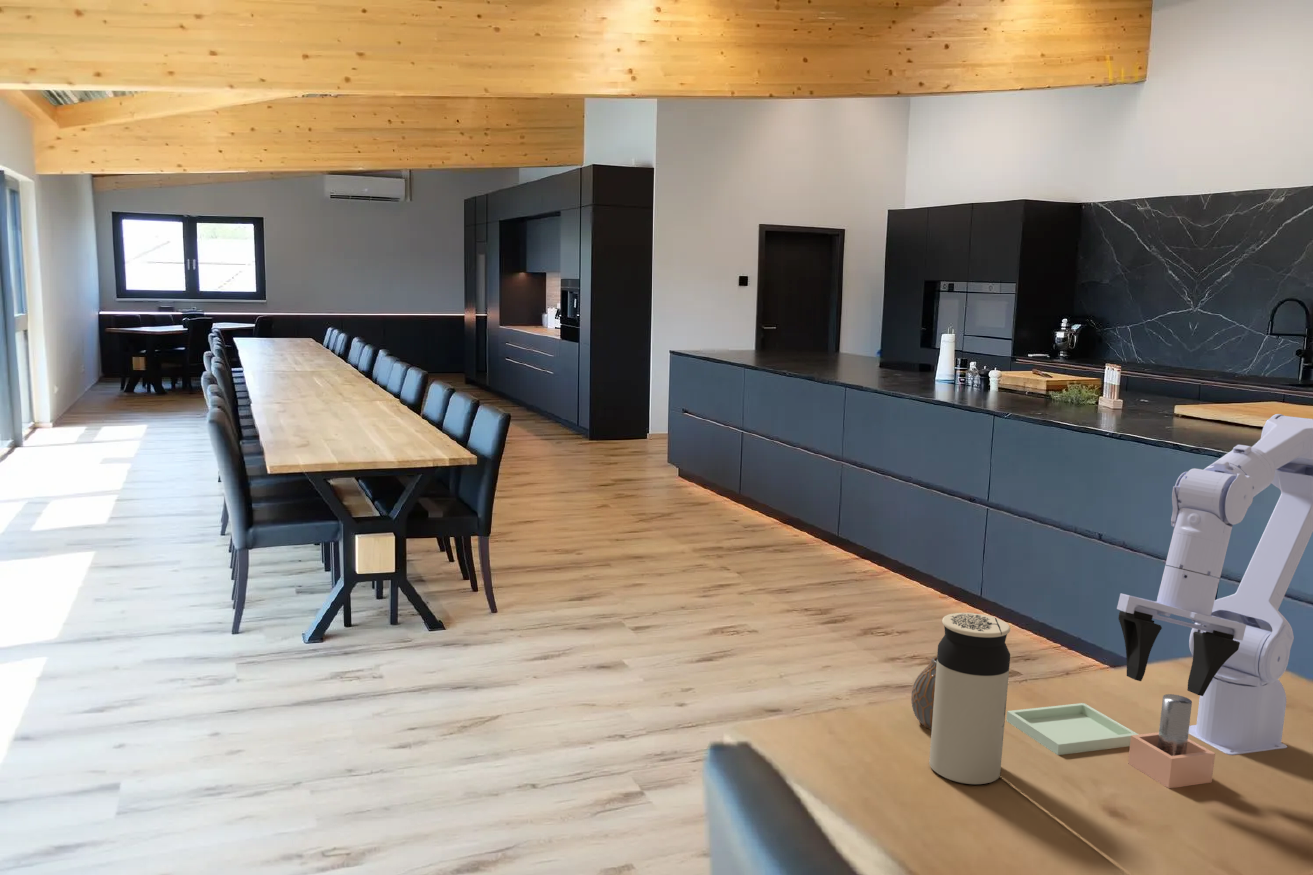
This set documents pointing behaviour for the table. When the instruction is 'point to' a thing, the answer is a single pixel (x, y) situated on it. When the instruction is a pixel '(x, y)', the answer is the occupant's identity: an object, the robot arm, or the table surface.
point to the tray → (1071, 728)
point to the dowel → (1174, 724)
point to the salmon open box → (1171, 762)
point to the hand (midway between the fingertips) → (1164, 686)
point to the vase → (924, 694)
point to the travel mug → (970, 698)
